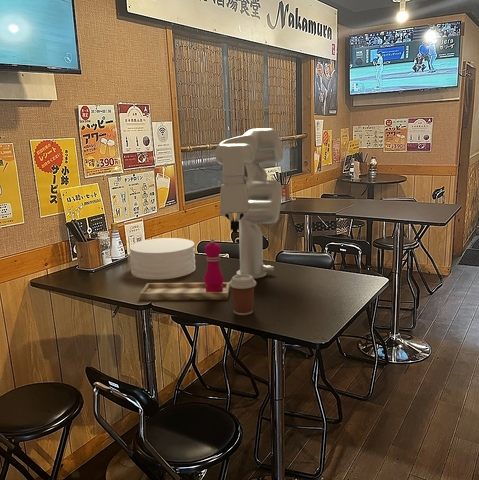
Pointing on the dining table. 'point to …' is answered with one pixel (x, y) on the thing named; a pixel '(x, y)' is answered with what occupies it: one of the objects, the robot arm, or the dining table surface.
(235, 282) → the coffee cup
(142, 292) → the birch tray
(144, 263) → the plate stack
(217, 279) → the pepper mill
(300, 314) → the dining table surface
